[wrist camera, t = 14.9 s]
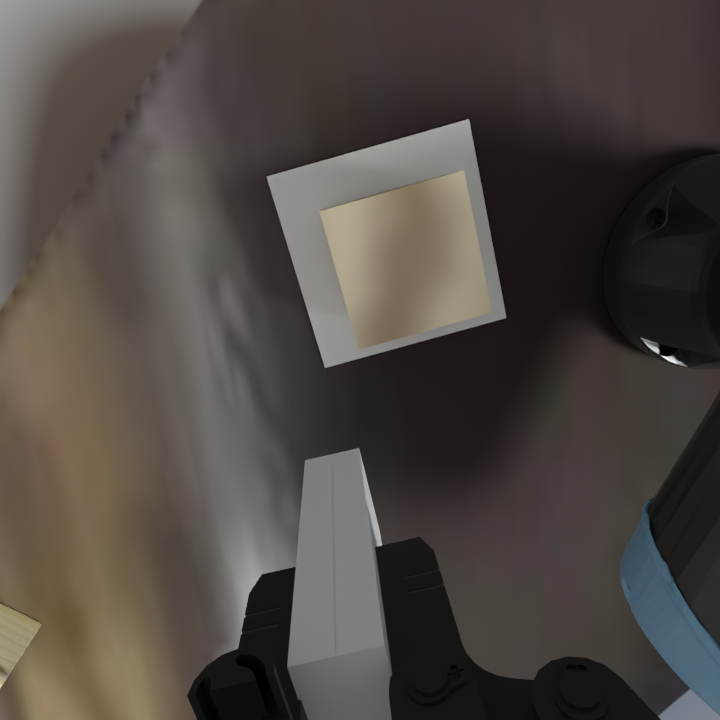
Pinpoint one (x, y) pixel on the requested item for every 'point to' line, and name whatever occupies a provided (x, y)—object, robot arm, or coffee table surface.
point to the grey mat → (357, 180)
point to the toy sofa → (14, 638)
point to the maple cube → (408, 259)
